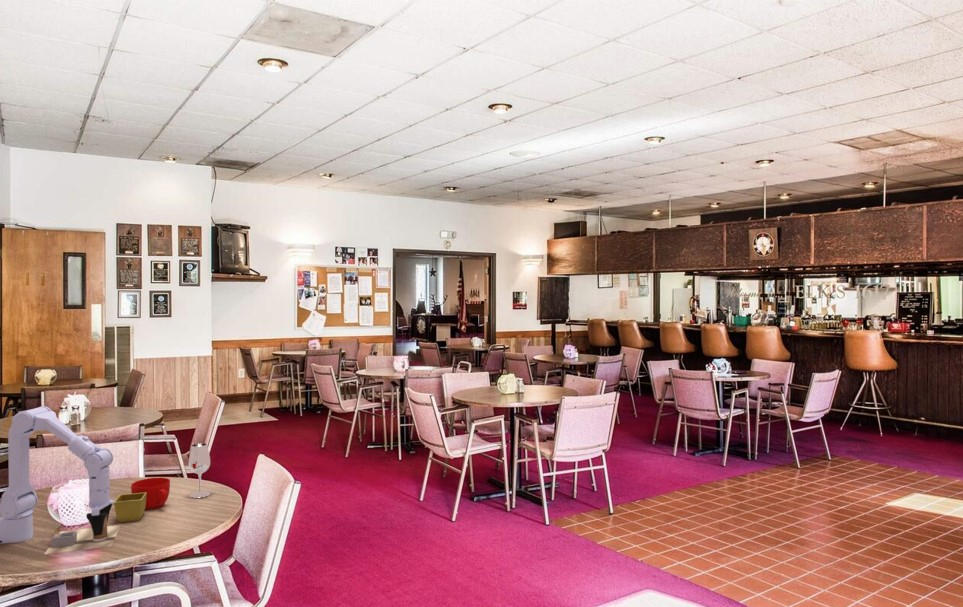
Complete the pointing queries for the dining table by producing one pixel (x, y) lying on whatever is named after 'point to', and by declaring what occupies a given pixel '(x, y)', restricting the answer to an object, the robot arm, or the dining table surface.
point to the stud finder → (64, 539)
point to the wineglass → (199, 464)
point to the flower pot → (130, 506)
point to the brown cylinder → (104, 534)
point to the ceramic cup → (153, 491)
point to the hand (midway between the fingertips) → (100, 530)
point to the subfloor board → (86, 540)
